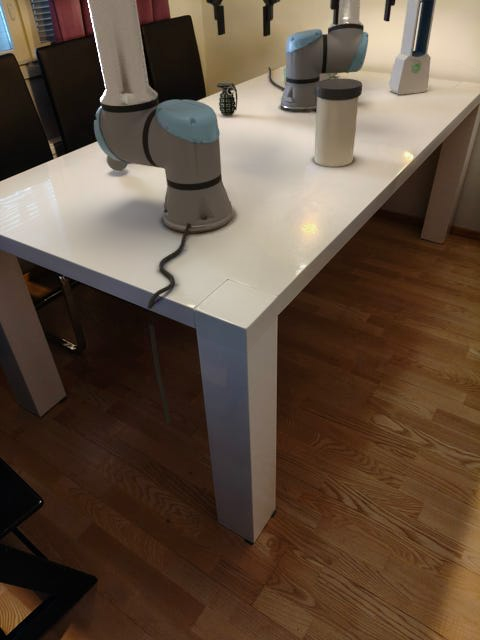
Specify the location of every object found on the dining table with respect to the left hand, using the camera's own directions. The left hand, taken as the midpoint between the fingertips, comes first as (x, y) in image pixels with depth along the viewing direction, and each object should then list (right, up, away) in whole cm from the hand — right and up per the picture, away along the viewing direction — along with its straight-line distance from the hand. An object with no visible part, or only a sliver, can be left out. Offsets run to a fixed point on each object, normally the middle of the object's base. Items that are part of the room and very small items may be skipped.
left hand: (243, 35), depth 129 cm
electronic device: (+62, +10, +54) cm, 83 cm away
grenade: (-5, -5, +40) cm, 41 cm away
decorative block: (+29, +28, +79) cm, 88 cm away
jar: (+24, -32, +2) cm, 41 cm away
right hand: (+31, +3, 0) cm, 31 cm away
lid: (+23, -18, -9) cm, 31 cm away
